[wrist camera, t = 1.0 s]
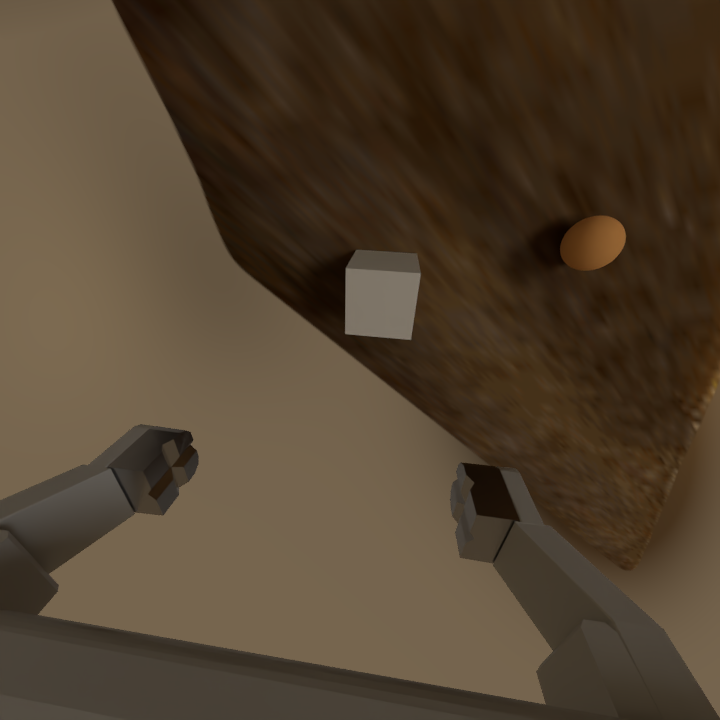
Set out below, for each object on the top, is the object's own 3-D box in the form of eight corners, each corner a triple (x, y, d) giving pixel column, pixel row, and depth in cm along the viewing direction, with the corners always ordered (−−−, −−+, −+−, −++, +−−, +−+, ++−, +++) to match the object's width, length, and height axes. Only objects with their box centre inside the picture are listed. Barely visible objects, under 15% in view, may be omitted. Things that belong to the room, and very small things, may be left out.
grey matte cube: (356, 249, 33) (345, 268, 27) (416, 253, 33) (420, 273, 26) (354, 306, 37) (345, 333, 31) (408, 310, 37) (410, 339, 30)
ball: (563, 211, 29) (590, 217, 25) (615, 213, 29) (652, 220, 24) (544, 261, 32) (565, 275, 28) (591, 264, 31) (620, 278, 27)
